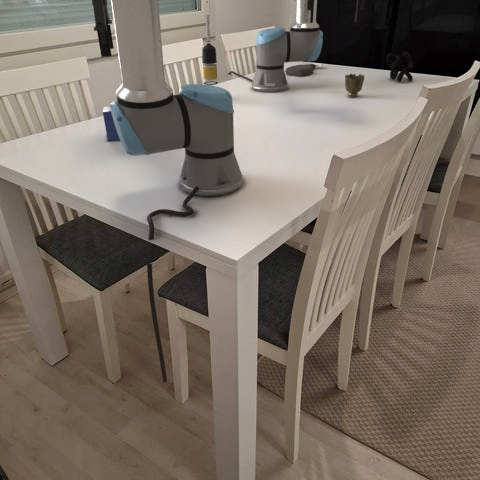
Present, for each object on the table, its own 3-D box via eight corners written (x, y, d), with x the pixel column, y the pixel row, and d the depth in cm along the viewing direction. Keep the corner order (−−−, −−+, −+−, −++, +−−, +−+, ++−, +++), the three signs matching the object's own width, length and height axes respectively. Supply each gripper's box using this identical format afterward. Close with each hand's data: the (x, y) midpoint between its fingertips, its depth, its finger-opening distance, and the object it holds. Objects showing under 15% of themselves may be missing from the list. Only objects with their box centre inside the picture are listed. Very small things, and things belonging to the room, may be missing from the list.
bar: (107, 141, 138) (102, 112, 133) (108, 135, 143) (103, 107, 138) (181, 135, 142) (178, 106, 137) (179, 129, 146) (177, 102, 142)
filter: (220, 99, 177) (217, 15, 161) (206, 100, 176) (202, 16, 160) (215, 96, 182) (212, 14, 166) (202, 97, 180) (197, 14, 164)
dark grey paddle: (283, 74, 214) (310, 66, 231) (302, 77, 208) (328, 69, 225) (283, 67, 213) (310, 60, 229) (302, 70, 207) (329, 62, 223)
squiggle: (400, 92, 202) (376, 71, 205) (417, 76, 202) (392, 56, 205) (405, 81, 191) (380, 59, 194) (423, 64, 191) (397, 42, 194)
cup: (340, 97, 177) (342, 76, 172) (346, 93, 182) (348, 72, 178) (359, 99, 174) (362, 78, 169) (364, 95, 179) (366, 74, 175)
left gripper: (105, -35, 107) (119, 59, 118) (110, -35, 128) (122, 45, 139) (73, -34, 106) (90, 61, 117) (83, -35, 126) (97, 46, 138)
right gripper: (384, -63, 126) (373, 20, 137) (295, -61, 128) (292, 21, 139) (389, -64, 120) (378, 23, 131) (296, -62, 122) (292, 24, 133)
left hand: (107, 52), depth 128 cm, fingers open, 13 cm apart
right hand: (333, 22), depth 135 cm, fingers open, 13 cm apart
